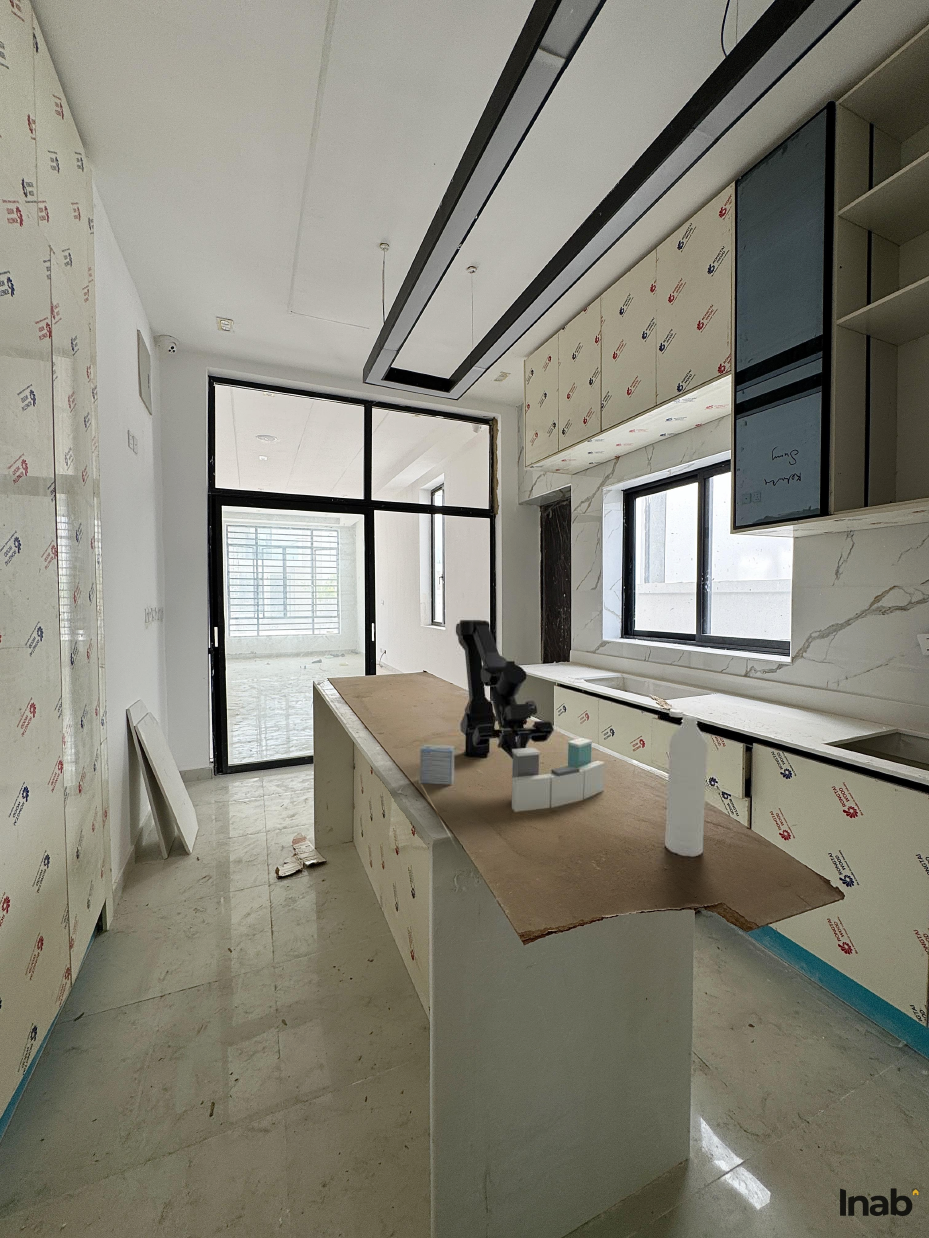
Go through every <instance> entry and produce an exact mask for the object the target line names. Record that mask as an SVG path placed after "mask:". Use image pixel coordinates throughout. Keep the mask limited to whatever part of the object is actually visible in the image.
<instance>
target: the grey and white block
mask: <svg viewBox="0 0 929 1238" xmlns="http://www.w3.org/2000/svg"><path fill="white" fill-rule="evenodd" d="M512 752H513V759H512V766H511V767H512V770H511V771H512V774H511V777H522V776H533V775H540V774H539V773H540V771H539V770H540V769H539V768H540V755H541V751H539V750H538V749H536V748H535V747H526V748H521V749H512Z"/></svg>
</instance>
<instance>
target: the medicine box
mask: <svg viewBox="0 0 929 1238" xmlns="http://www.w3.org/2000/svg"><path fill="white" fill-rule="evenodd" d="M419 752H420V753H419V754H420V755H419V784H420V783H422V784H427V785H428V784H429V785H431V784H432V785H447V786H452V785H453V783H454V779H455V746H454V745H445V744H444V745H441V744H422V746H421V748H420V750H419Z"/></svg>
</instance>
